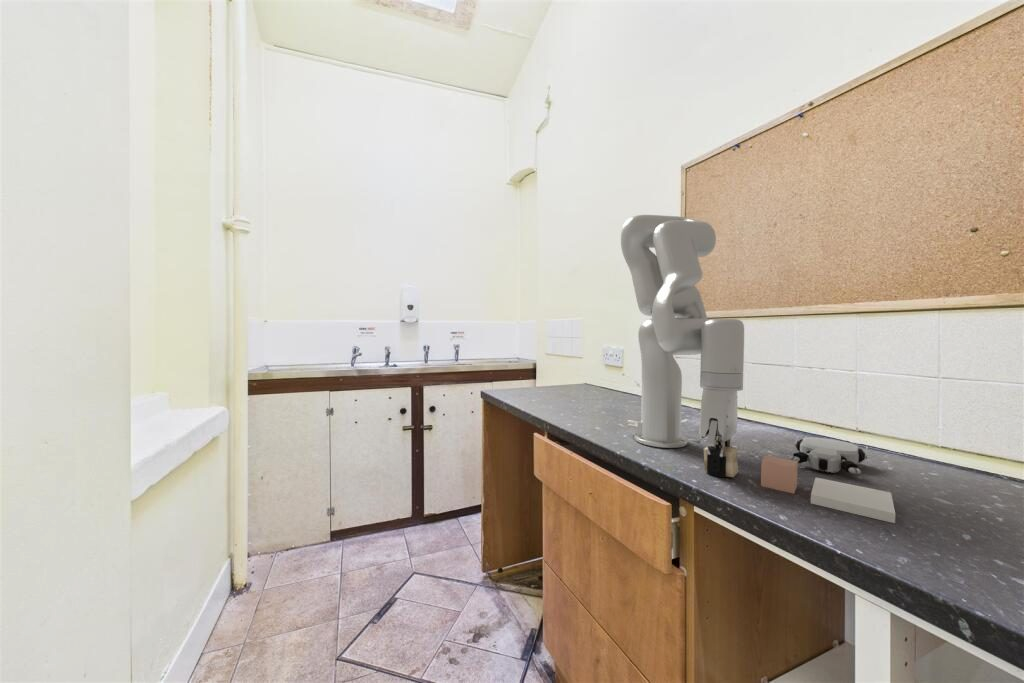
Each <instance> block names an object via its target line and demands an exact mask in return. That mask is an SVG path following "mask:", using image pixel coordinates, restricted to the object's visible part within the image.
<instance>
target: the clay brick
mask: <svg viewBox="0 0 1024 683" xmlns="http://www.w3.org/2000/svg"><path fill="white" fill-rule="evenodd" d="M798 465H799V463H798V461H793V460H789V458H788V459H786V458H783V457H776V456H770V455H764V457H763V458H762V459H761V465H760V466H761V469H760V471H761V473H760V474H761V475H760V486H761V487H763V488H768V489H773V490H777V491H780V492H781V491H782V492H786V493H789V494H790V493H791V494H795V492H796V490H797V488H798V468H799V467H798Z"/></svg>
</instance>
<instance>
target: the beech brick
mask: <svg viewBox="0 0 1024 683" xmlns="http://www.w3.org/2000/svg"><path fill="white" fill-rule="evenodd" d="M707 450H708V446H706V447H704V448H703V459H704V460H703V461H704V472H705V474H706V473H707ZM724 456H725V457H726V476H725V477H727V478H735V476H736V475H737V474H738V472H739V466H738V465H739V464H738V453H737V447H734V446H732V447H726V446H725V450H724ZM707 474H708V473H707ZM708 475H709V474H708Z"/></svg>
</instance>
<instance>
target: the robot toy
mask: <svg viewBox="0 0 1024 683" xmlns="http://www.w3.org/2000/svg"><path fill="white" fill-rule="evenodd" d="M799 438H800V435H797V436H796V440H795V442H794V447H795V448H796V449H797V451H798V452H795V453H793V455H790V456H789V457H788V460H793V461H798V464H802V463H806V462H808V464H809V465H810V467H811V468H812V469H813V470H817V471H819V470H820V472H824V471H825V472H824V473H829V472H831V474H836V473H838V472H839V471H841V470H842V469H843V470H844V471H845V472H846V473H849V474H852V475H853V474H858V475H860V474H861V473H862V471H861V470H860V468H859V466H858V463H859V464H861V463H862V462H863V461H865V459H866V460H867V459H868V449H869V447H868V446H865V452H864V451H863V449H862V448H859V446H858V445H856V444H854V443H852V442H851V443H850V442H848V441H847V442H846V441H841V440H838V439H832V438H824V437H816V436H815V437H812V436H807V437H804V438H802V439H799Z"/></svg>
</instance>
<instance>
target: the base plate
mask: <svg viewBox="0 0 1024 683" xmlns="http://www.w3.org/2000/svg"><path fill="white" fill-rule="evenodd" d="M810 504H812V505H815V506H816V505H817V506H819V507H825V508H827V509H828V508H829V509H833V510H838V511H840V512H845V513H850V514H854V515H859V516H863V517H865V518H866V517H867V518H871V519H876V520H880V521H884V522H887V523H890V524H891V523H893V524H896V511H895V507H894V506H895V505H894V501H893V495H892V492H890V491H886V490H880V489H875V488H870V487H866V486H860V485H856V484H851V483H845V482H841V481H836V480H831V479H825V478H820V477H815V478H814V482H813V485H812V489H811V492H810Z"/></svg>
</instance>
